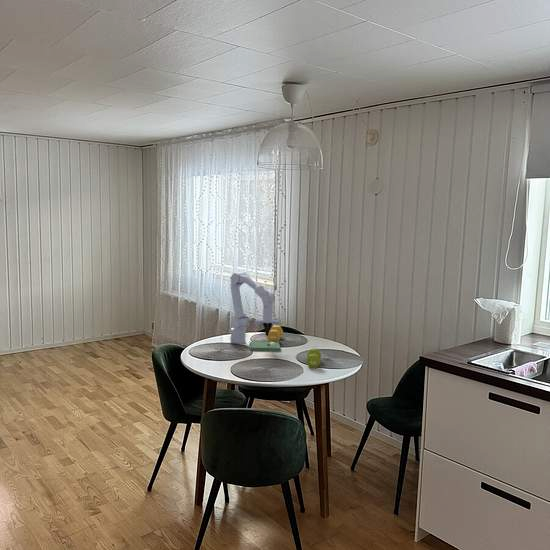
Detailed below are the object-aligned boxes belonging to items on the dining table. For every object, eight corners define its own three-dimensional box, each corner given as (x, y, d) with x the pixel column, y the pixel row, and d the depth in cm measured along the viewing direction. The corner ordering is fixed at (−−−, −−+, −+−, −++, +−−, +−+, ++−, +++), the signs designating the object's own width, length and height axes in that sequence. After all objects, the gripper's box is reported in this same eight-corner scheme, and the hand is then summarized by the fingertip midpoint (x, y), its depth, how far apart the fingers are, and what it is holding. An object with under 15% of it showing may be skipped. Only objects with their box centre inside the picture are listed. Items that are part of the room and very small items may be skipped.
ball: (272, 349, 309) (269, 345, 309) (271, 348, 313) (268, 344, 312) (277, 345, 310) (273, 341, 309) (276, 344, 313) (272, 340, 312)
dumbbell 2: (269, 336, 342) (270, 324, 341) (283, 337, 341) (283, 325, 340) (265, 343, 324) (266, 330, 323) (280, 344, 322) (280, 331, 322)
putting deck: (250, 350, 303) (250, 347, 303) (249, 345, 317) (249, 341, 316) (280, 351, 305) (280, 348, 304) (278, 345, 319) (278, 342, 318)
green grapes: (307, 359, 289) (307, 347, 289) (321, 360, 288) (321, 348, 288) (305, 368, 273) (305, 355, 272) (320, 369, 272) (320, 356, 271)
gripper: (256, 314, 304) (255, 336, 305) (280, 314, 305) (279, 337, 307) (255, 311, 311) (254, 333, 312) (279, 312, 312) (278, 334, 314)
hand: (266, 335), depth 310 cm, fingers closed
